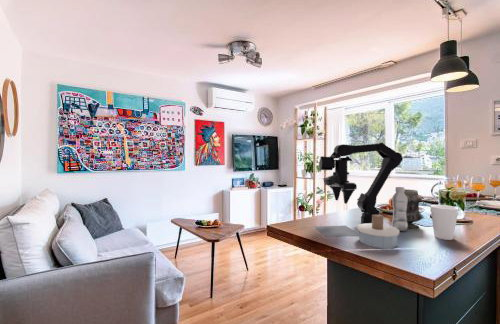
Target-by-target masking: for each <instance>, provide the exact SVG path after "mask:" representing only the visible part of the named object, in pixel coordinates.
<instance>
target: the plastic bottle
mask: <svg viewBox="0 0 500 324" xmlns="http://www.w3.org/2000/svg"><path fill="white" fill-rule="evenodd" d="M394 191H395V193H394V194H393V195H392V197H391V200H392V221H391V226H392V227H395V228H397V229H399V232H406V231H407V230H408V229H407V228H408V223H407V216H406V211H407V203H408V198H407V196H406V195H405V194H404V192H405V187H404V186H401V187H400V186H395V190H394Z"/></svg>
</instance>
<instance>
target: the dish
mask: <svg viewBox="0 0 500 324" xmlns="http://www.w3.org/2000/svg"><path fill="white" fill-rule="evenodd" d="M359 234H360V236H359V242H360V243H362V244H364V245H366V246H370V247H373V248H375V249H377V250H394V249H395V248H396V247H397V246H398V236H393V237H382V236H373V235H368V234H365V233H362V232H360V231H359Z"/></svg>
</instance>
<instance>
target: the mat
mask: <svg viewBox="0 0 500 324" xmlns="http://www.w3.org/2000/svg"><path fill="white" fill-rule="evenodd" d="M313 227H314V228H315V229H316V230H317V231H319V232H320V234H321V235H323V236H324V237H325V238H330V237H331V238H332V237H334V238H335V237H338V238H339V237H360V232H359V233H358V232H357V231H356V230H354V229H352V228H351V227H349V226H347V225H323V226H322V225H319V226H318V225H315V226H313Z"/></svg>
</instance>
